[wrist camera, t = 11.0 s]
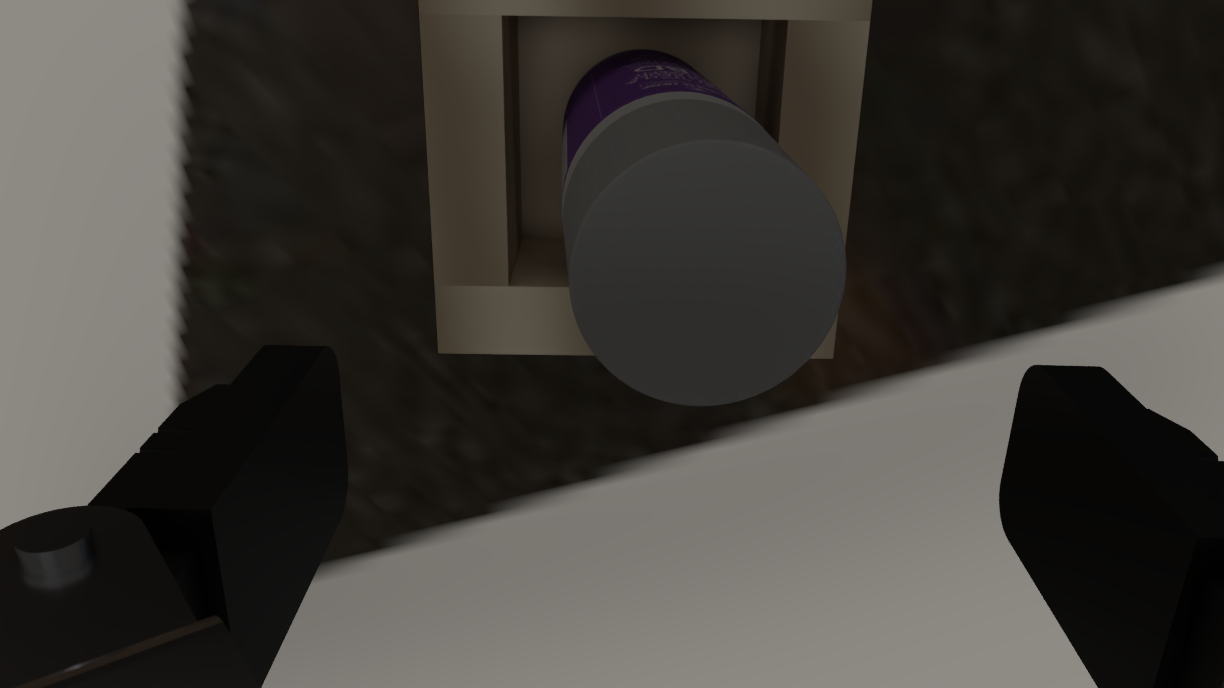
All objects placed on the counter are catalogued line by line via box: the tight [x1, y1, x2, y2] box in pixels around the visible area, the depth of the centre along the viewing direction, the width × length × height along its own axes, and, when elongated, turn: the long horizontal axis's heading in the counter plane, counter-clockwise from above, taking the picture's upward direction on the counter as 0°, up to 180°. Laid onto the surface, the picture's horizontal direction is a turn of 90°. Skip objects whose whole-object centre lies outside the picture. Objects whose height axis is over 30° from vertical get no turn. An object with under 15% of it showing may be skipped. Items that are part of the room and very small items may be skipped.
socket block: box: [419, 0, 872, 359], centre depth 28 cm, size 11×11×5 cm
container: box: [561, 49, 846, 406], centre depth 23 cm, size 5×5×15 cm
